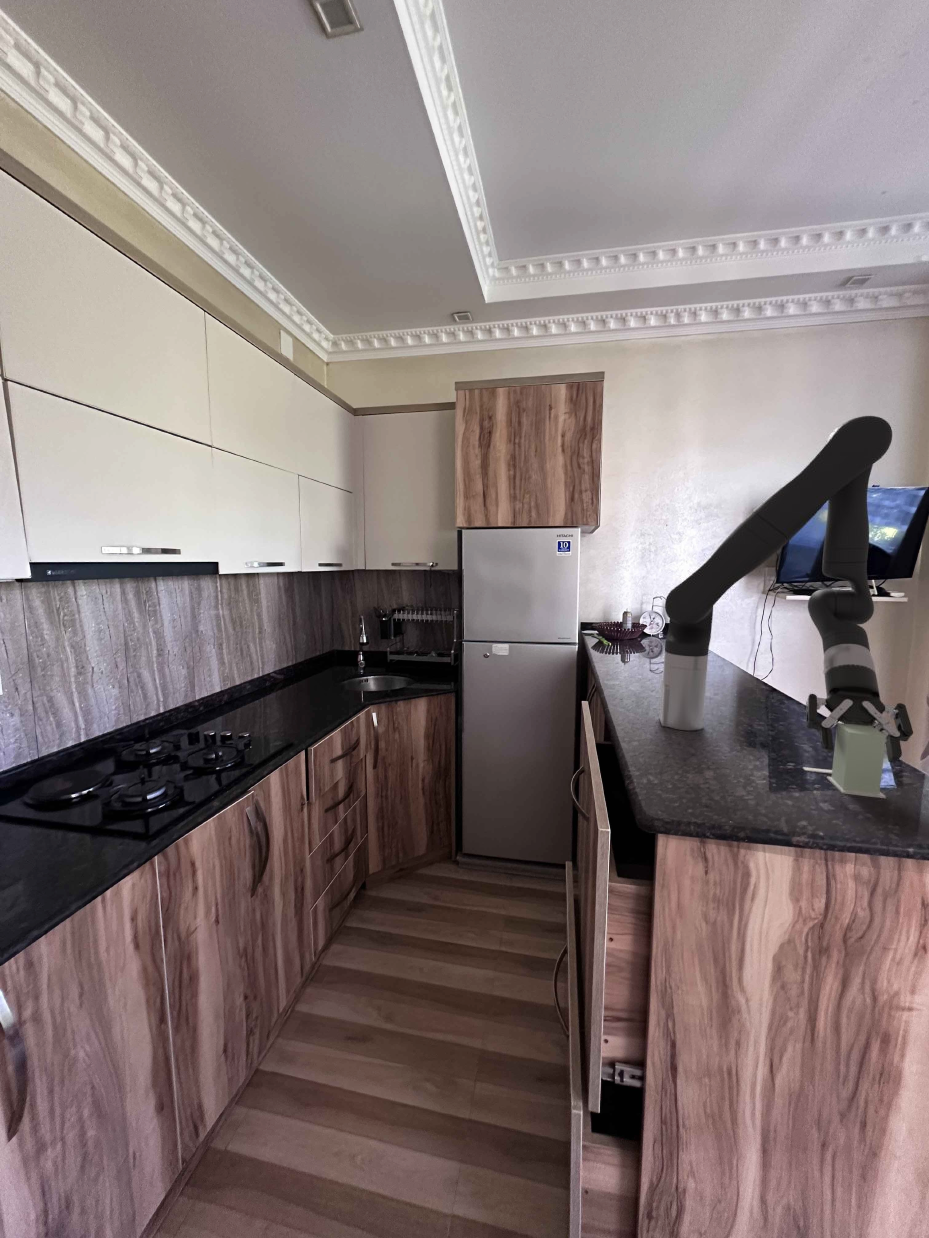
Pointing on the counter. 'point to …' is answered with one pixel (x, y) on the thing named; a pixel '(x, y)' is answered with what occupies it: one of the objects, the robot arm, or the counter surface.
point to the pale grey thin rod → (819, 770)
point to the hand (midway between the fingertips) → (861, 755)
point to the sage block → (858, 758)
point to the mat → (854, 791)
